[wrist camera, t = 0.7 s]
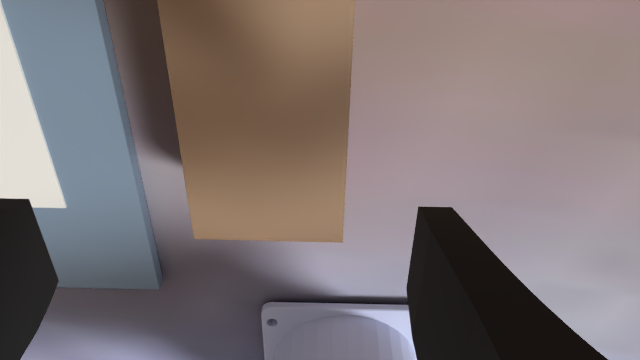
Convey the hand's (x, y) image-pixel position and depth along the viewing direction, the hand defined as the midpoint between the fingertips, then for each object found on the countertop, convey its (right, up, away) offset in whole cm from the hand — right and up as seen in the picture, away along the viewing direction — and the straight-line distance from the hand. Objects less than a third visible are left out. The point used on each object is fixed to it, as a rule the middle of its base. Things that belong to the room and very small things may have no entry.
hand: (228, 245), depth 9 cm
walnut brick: (0, +5, +8) cm, 10 cm away
